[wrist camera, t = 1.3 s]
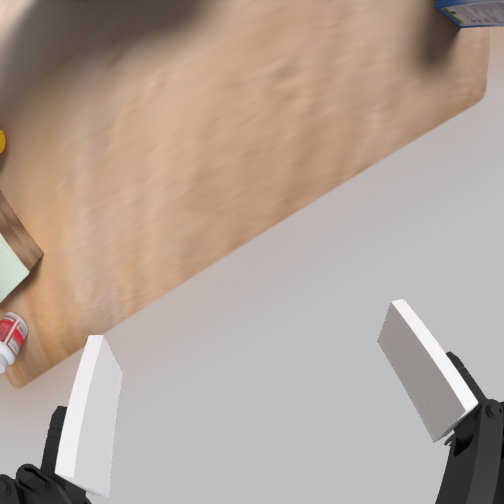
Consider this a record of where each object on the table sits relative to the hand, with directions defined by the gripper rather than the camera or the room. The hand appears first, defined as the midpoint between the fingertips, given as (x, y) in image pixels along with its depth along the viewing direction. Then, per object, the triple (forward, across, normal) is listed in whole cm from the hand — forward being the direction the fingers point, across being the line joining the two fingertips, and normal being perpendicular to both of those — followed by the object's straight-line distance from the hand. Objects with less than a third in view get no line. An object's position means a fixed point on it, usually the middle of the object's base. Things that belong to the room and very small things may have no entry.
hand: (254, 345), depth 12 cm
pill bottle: (+26, -42, -21) cm, 53 cm away
